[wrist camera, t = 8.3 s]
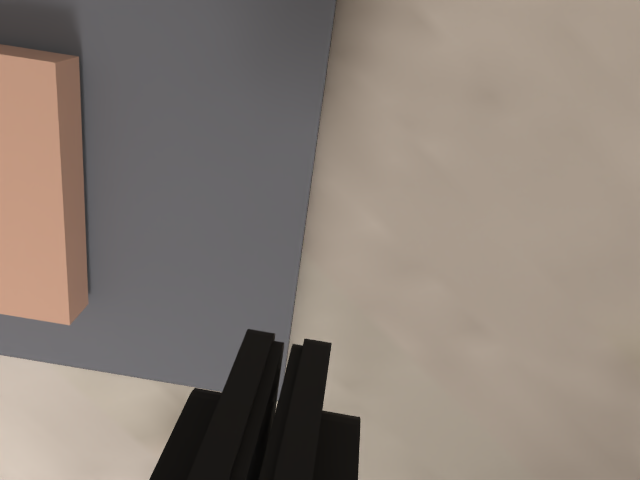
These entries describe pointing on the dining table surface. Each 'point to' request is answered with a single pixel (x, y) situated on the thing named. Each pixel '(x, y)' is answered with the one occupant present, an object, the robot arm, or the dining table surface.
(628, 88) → the dining table surface
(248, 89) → the mat
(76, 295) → the tile
